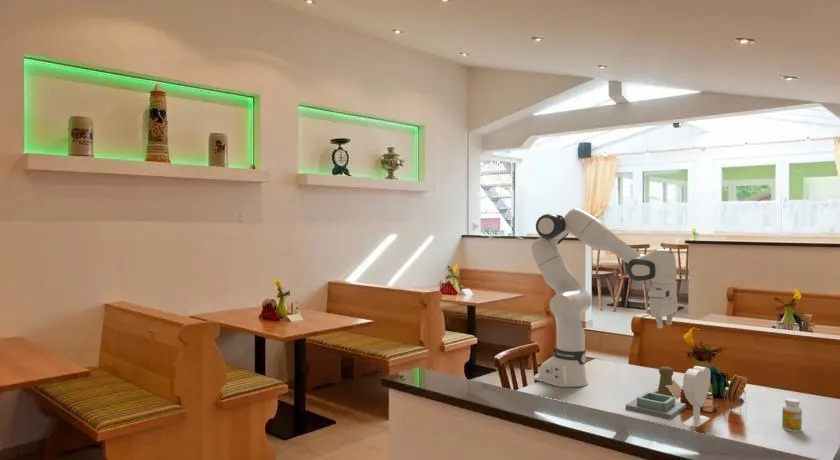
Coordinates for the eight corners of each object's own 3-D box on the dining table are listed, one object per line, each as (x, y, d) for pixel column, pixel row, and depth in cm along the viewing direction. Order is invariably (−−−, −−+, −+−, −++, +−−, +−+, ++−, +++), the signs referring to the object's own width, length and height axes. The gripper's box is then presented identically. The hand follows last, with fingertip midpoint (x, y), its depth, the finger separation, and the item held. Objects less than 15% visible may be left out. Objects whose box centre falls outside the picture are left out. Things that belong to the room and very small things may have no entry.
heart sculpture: (697, 413, 212) (698, 363, 211) (712, 417, 208) (713, 365, 208) (680, 424, 201) (681, 371, 200) (695, 428, 197) (696, 374, 197)
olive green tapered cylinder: (675, 397, 230) (676, 369, 230) (659, 396, 231) (659, 368, 231) (672, 393, 236) (672, 365, 235) (656, 392, 237) (656, 364, 237)
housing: (625, 409, 216) (625, 398, 216) (642, 398, 228) (642, 388, 228) (670, 419, 206) (671, 407, 206) (686, 407, 218) (686, 397, 218)
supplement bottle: (778, 426, 199) (778, 397, 199) (793, 426, 200) (794, 397, 199) (789, 432, 194) (790, 402, 194) (805, 431, 194) (805, 402, 194)
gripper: (665, 287, 242) (665, 321, 242) (646, 292, 226) (646, 329, 227) (681, 288, 237) (682, 323, 238) (663, 293, 222) (663, 330, 222)
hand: (664, 326), depth 232 cm, fingers open, 8 cm apart
